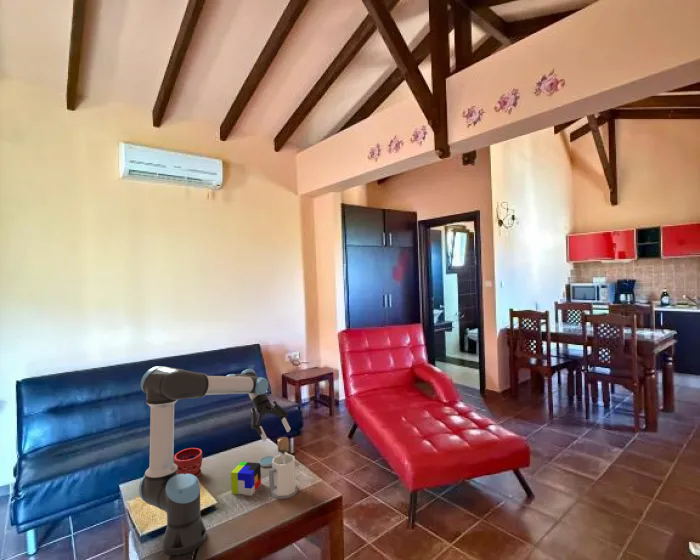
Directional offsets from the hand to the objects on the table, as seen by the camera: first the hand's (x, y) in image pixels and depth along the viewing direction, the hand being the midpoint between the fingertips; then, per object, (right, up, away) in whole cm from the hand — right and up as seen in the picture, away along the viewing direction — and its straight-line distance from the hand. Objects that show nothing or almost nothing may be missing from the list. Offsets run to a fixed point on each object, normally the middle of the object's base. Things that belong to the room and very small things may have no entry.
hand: (277, 435), depth 178 cm
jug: (+4, -24, -4) cm, 25 cm away
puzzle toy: (-15, -25, 0) cm, 29 cm away
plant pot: (-47, -26, +12) cm, 55 cm away
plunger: (+4, -22, -4) cm, 23 cm away
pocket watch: (-9, -25, +23) cm, 35 cm away
